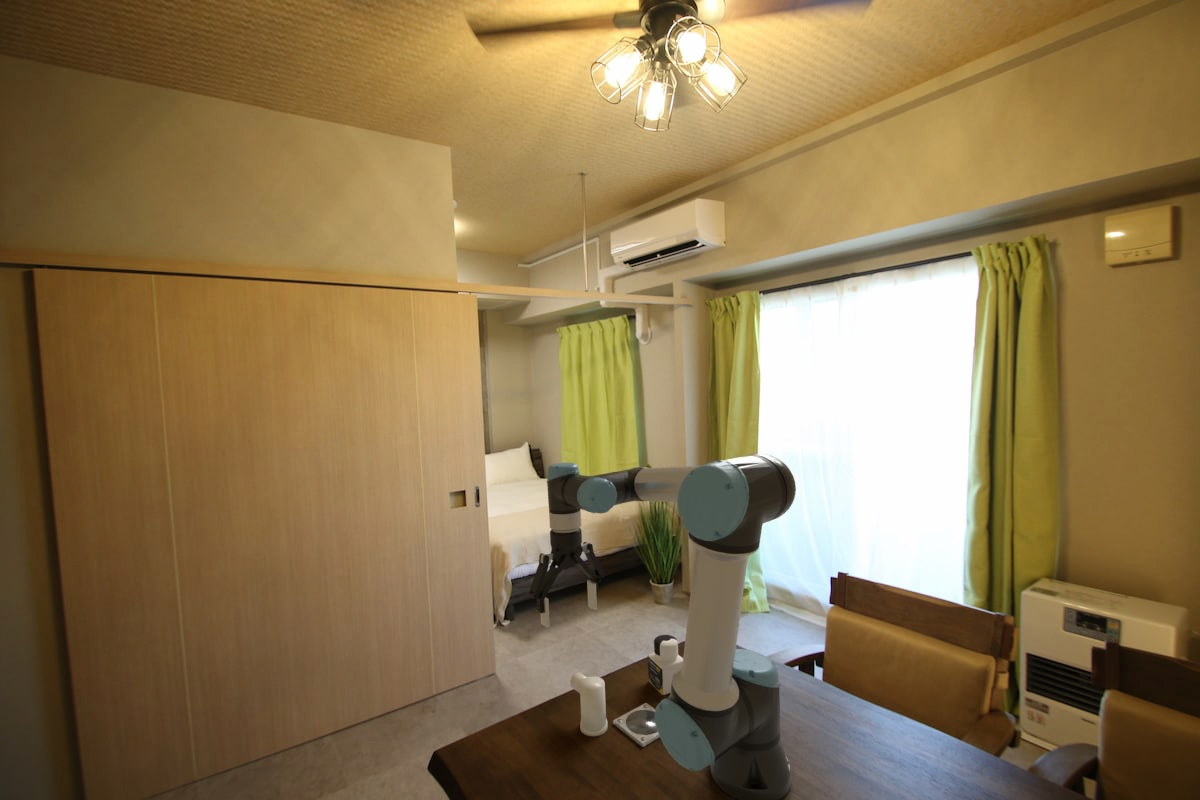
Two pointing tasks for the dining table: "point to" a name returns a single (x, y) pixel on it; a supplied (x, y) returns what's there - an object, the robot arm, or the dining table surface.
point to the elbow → (591, 704)
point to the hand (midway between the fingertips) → (569, 616)
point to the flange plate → (639, 724)
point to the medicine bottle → (663, 663)
